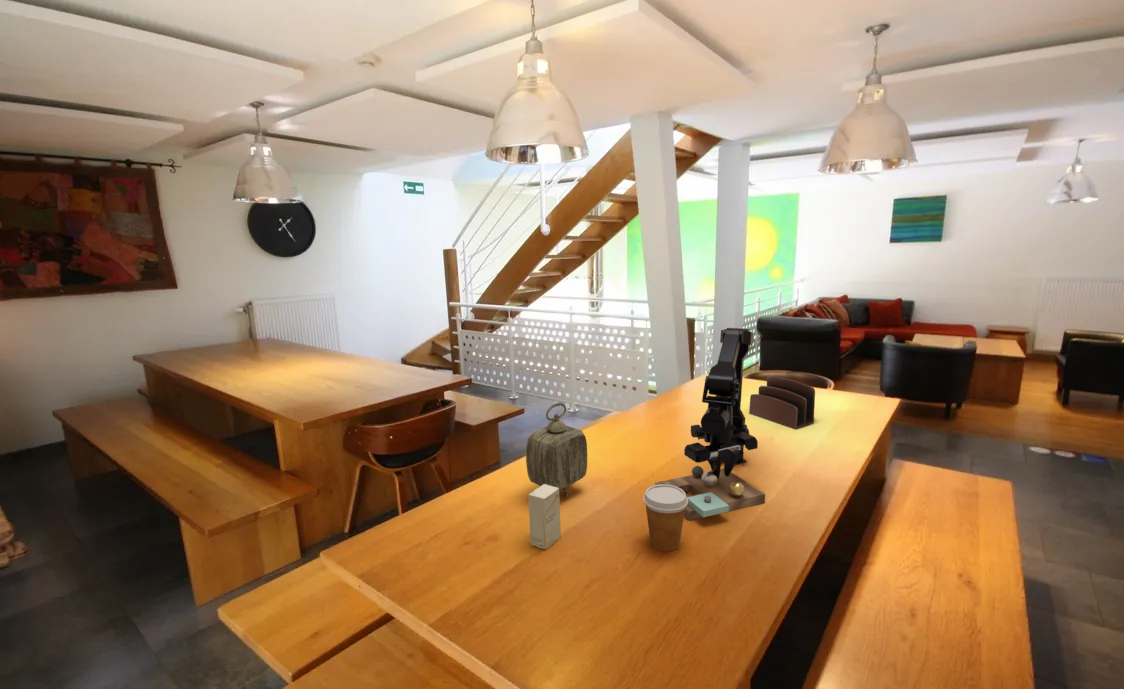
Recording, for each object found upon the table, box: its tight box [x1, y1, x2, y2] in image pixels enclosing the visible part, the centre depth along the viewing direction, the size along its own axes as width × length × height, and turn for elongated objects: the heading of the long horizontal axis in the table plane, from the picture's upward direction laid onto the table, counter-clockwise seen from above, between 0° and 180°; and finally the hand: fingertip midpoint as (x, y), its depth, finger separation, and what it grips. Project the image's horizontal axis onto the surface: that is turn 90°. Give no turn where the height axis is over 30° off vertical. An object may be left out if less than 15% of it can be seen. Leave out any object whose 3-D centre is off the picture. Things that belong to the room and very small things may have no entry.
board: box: [654, 468, 766, 522], centre depth 136 cm, size 22×16×2 cm
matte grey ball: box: [691, 465, 704, 477], centre depth 141 cm, size 3×3×3 cm
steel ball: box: [701, 470, 717, 487], centre depth 136 cm, size 4×4×4 cm
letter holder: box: [748, 375, 816, 430], centre depth 188 cm, size 10×20×14 cm, turn 30°
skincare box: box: [527, 484, 562, 550], centre depth 117 cm, size 6×4×12 cm
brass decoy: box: [729, 482, 745, 497], centre depth 131 cm, size 4×4×4 cm
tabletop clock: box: [525, 402, 588, 498], centre depth 137 cm, size 14×9×25 cm, turn 135°
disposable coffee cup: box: [642, 484, 688, 553], centre depth 115 cm, size 10×10×12 cm
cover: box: [686, 492, 730, 518], centre depth 126 cm, size 7×7×2 cm
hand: (721, 477), depth 137 cm, fingers open, 3 cm apart
